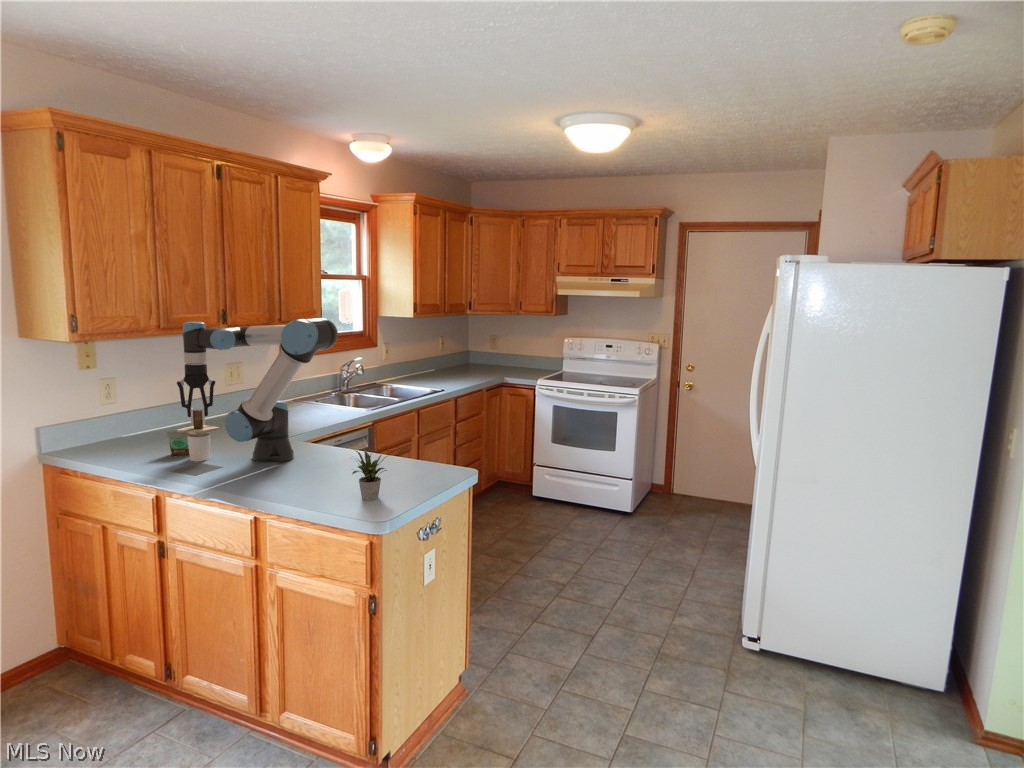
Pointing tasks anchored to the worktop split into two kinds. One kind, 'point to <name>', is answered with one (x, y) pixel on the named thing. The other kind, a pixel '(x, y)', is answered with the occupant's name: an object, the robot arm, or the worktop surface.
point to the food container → (178, 443)
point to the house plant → (369, 477)
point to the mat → (196, 469)
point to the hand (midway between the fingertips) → (198, 424)
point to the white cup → (199, 446)
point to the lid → (198, 425)
